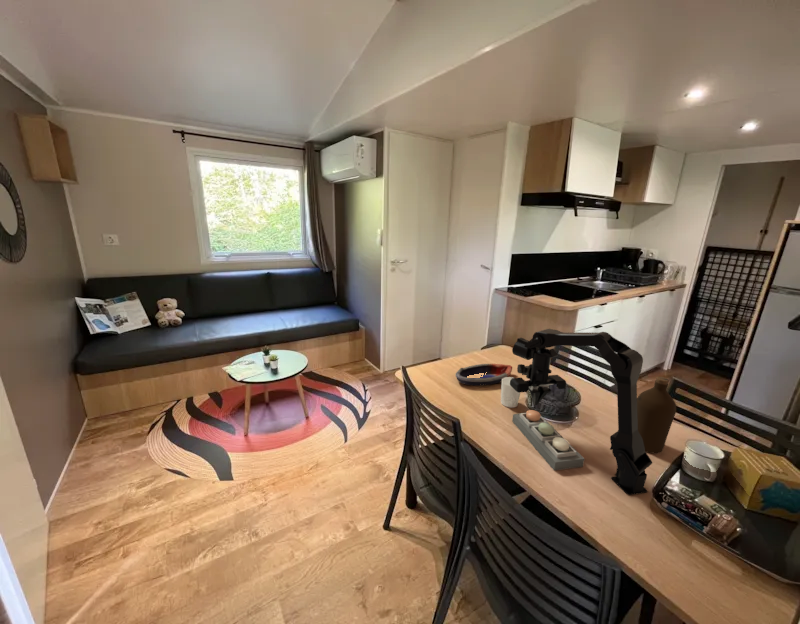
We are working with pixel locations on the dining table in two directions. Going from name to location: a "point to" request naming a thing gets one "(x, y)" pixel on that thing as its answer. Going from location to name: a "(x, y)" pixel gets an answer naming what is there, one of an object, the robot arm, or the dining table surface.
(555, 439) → the cream button
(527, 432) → the button panel
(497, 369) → the dish
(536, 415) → the terracotta button
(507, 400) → the white cup
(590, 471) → the dining table surface
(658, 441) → the olive oil
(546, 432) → the sage button
